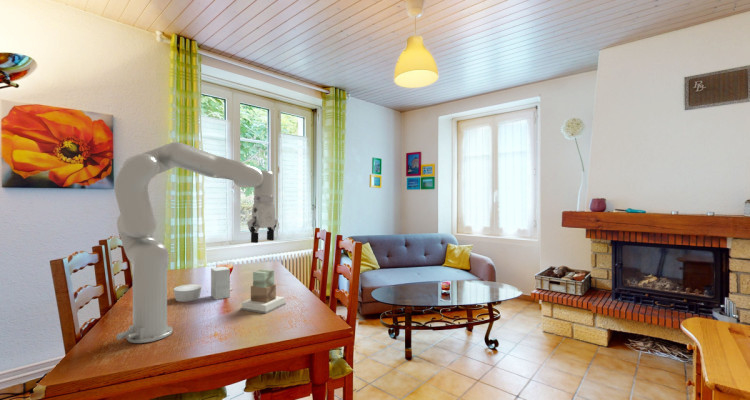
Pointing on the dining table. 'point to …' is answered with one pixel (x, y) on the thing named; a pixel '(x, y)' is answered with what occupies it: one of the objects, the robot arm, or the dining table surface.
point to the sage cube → (263, 278)
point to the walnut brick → (263, 294)
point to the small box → (220, 282)
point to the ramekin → (187, 292)
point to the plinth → (263, 305)
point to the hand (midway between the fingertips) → (262, 241)
